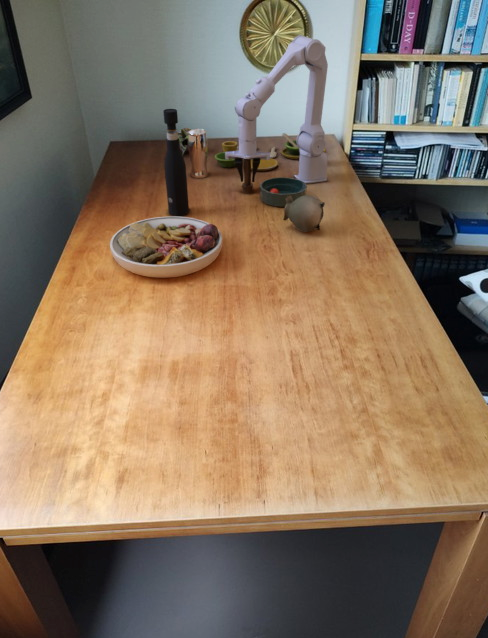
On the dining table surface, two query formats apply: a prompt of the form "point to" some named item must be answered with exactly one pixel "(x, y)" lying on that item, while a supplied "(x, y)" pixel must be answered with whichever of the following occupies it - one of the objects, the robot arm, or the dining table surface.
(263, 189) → the bowl
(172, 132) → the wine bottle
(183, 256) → the bowl
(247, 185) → the muddler
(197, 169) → the metal tumbler
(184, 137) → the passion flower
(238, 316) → the dining table surface
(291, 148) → the tableware set
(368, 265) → the dining table surface
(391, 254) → the dining table surface
